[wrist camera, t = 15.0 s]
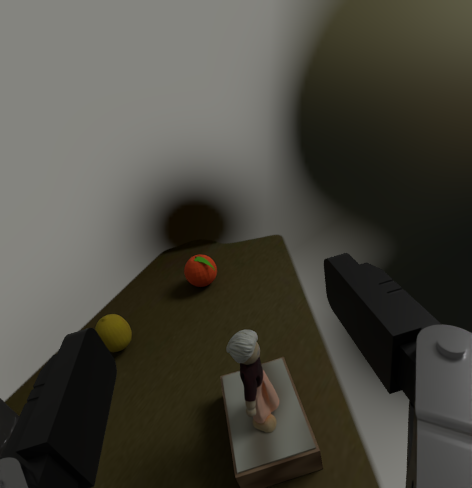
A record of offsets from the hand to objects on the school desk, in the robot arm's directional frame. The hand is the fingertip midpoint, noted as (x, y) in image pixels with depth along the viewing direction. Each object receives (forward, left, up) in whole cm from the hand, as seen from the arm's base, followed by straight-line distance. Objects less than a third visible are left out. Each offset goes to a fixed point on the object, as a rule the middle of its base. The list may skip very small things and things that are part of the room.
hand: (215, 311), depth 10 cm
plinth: (0, +13, -32) cm, 35 cm away
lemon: (-22, +34, -32) cm, 52 cm away
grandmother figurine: (0, +13, -28) cm, 31 cm away
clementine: (-5, +46, -32) cm, 56 cm away
